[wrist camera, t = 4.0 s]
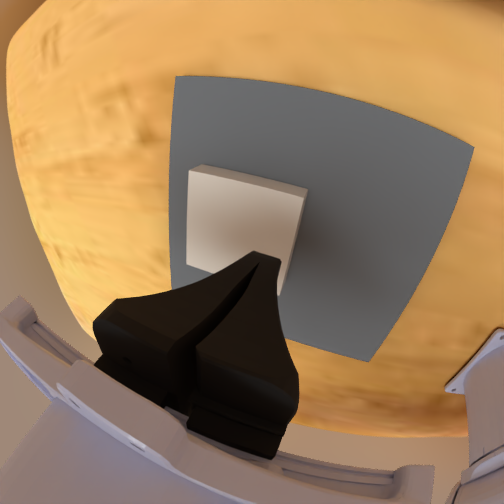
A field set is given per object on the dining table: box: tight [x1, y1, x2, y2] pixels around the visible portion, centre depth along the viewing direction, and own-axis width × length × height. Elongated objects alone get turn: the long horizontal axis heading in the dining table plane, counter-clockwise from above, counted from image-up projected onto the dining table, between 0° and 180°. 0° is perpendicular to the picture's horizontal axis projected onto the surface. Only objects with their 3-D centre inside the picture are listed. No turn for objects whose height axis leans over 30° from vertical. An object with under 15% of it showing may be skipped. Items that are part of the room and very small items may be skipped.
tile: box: [186, 164, 308, 296], centre depth 15 cm, size 2×6×6 cm
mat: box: [169, 76, 474, 362], centre depth 16 cm, size 16×16×1 cm
